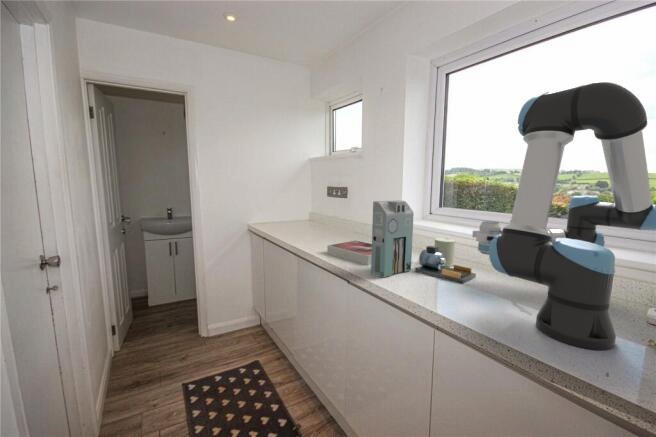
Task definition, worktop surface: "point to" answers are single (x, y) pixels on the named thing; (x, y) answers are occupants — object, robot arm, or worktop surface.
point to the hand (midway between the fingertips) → (474, 235)
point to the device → (391, 238)
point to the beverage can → (488, 228)
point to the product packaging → (352, 251)
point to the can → (446, 249)
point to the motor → (442, 266)
